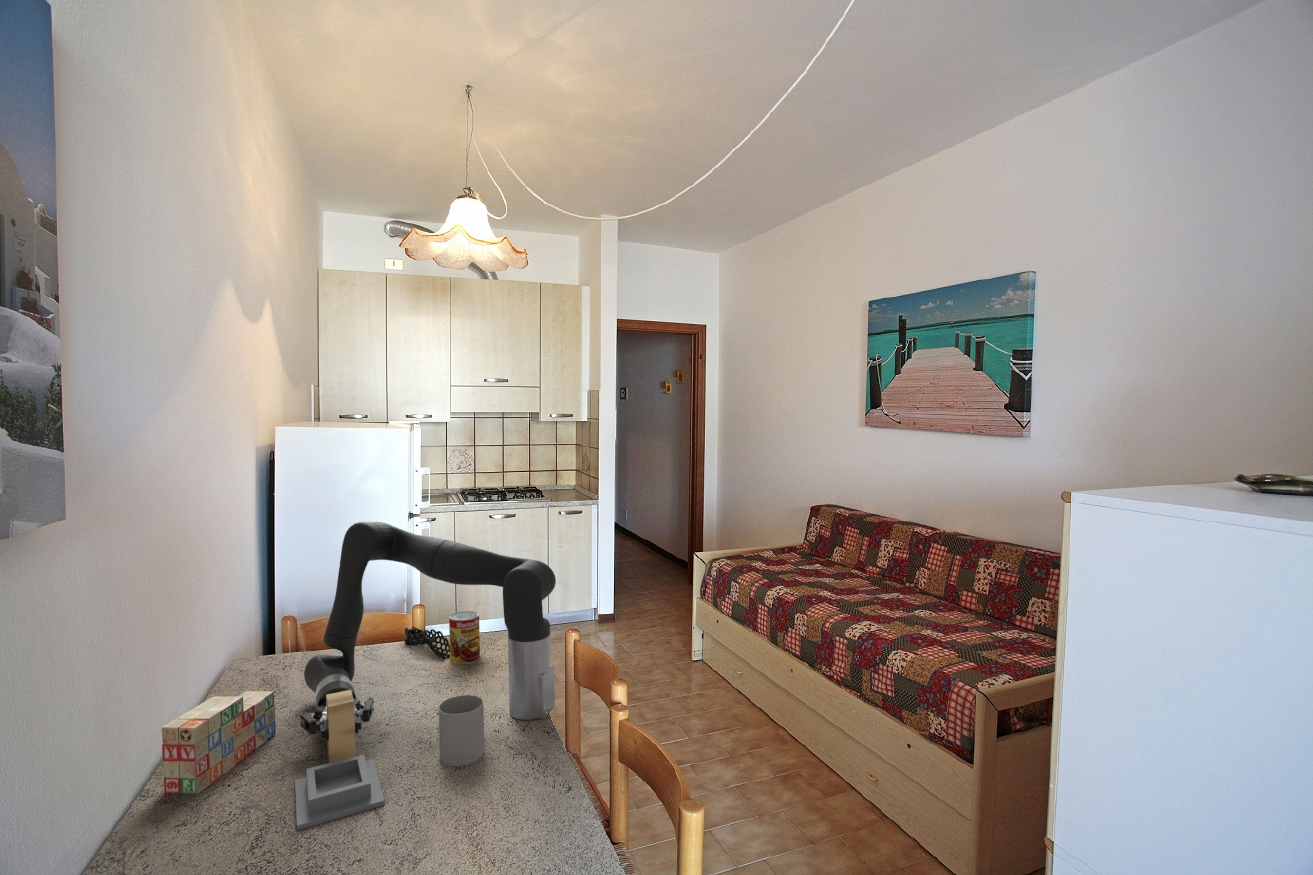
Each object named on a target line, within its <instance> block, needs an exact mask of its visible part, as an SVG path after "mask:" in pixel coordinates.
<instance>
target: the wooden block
mask: <svg viewBox="0 0 1313 875" xmlns="http://www.w3.org/2000/svg"><path fill="white" fill-rule="evenodd" d="M326 704H327V721H328V727H329V740H327V757H328V763H332V762H336V761H340V760H344V759H348V758H351V757H355V756H356V755H357V754H356V733H355V716H354V699H353V695H352V691H351V690H347V691H342V692H337V693H332V694H327V695H326Z"/></svg>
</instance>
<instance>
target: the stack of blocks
mask: <svg viewBox="0 0 1313 875" xmlns="http://www.w3.org/2000/svg"><path fill="white" fill-rule="evenodd" d="M276 728H277V726H276V706H275V692H274V691H265V690H262V691H259V690H258V691H255V690H254V691H253V690H252V691H247V690H246V691H244V692H243V693H241V694H239V695H238V696H212V697H210V698H208V699H207V700H205V701H203V702H202V703H199V704H198V705H197V706H195V707H193V708H191V710H189V711H187V712H184V713H183V714H182V715H180V716H179V717H177V718H175V719H173V720H171V721H170V722H168V723H166V724H165V725H163V726H162V727H161V737H162V741H161V742H162V744H161V751H162V752H161V754H162V763H163V787H164V789H163V791H164V794H176V795H177V794H178V795H179V794H180V795H183V794H184V795H198V794H199V793H201V792H202V791H204V790H205V789H206V788H207V787H208V786H210V785H212V784H213V783H215V781H217V780H218V779H219V778H221V777H223V775H225V774H226V773H228V772H229V771H230V770H231V769H233V768H234V767H235V766H237V764H239V763H241V761H242V760H244V759H245V758H247V757H248V756H249V755H250V754H252V753H253V752H254V751H256V750H257V749H258V748H260V746H262V745H263V744H265V743H266V742H267V741H269V740H270V739H271V738H273V737H274V736H275V735H276V733H277V732H276V730H277V729H276ZM274 734H275V735H274ZM273 735H274V736H273ZM272 736H273V737H272ZM269 738H270V739H269ZM268 739H269V740H268ZM252 751H253V752H252Z"/></svg>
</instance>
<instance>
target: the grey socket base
mask: <svg viewBox="0 0 1313 875" xmlns="http://www.w3.org/2000/svg"><path fill="white" fill-rule="evenodd" d="M294 783H295V784H294V787H295V788H294V789H295V811H296V813H295V814H296V815H295V816H296V831H300V830H304V829H307V828H310V827H314V826H318V825H320V824H324V823H327V822H331V821H334V820H337V819H342V818H344V817H347V816H351V815H354V814H359V813H362V812H365V811H369V810H371V809H375V808H379V807H382V806H385V798H384V795H383V791H382V787H381V783H380V780H379V775H378V773H377V769H376V766H375V761H374V759H370V760H366V758H365V754H360V755H357V756H355V757H351V758H348V759H344V760H340V761H336V762H332V763H329V762H328V763H324V764H320V765H316V766H313V767H308V768H306V776H305V777H302V778H297V779H295V780H294Z"/></svg>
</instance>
